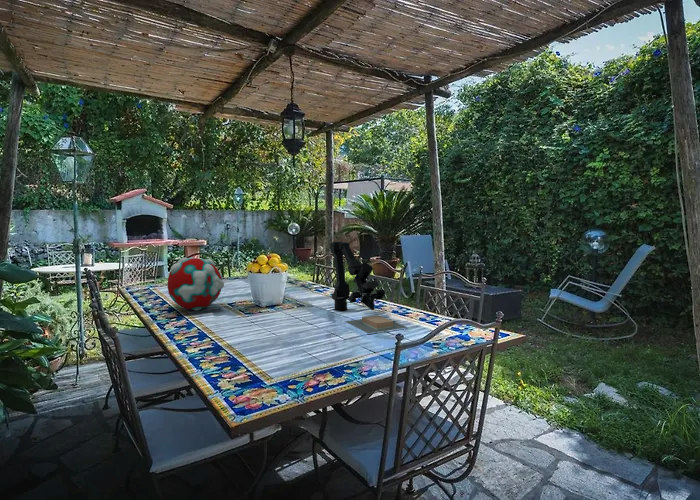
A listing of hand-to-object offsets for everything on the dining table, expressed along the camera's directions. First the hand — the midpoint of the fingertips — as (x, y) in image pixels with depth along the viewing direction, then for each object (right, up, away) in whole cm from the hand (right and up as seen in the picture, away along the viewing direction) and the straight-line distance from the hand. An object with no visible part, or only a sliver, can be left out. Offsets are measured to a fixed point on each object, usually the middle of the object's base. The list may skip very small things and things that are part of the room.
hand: (373, 309), depth 204 cm
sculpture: (-100, -5, +34) cm, 105 cm away
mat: (+1, -8, -1) cm, 8 cm away
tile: (-1, -5, +3) cm, 6 cm away
